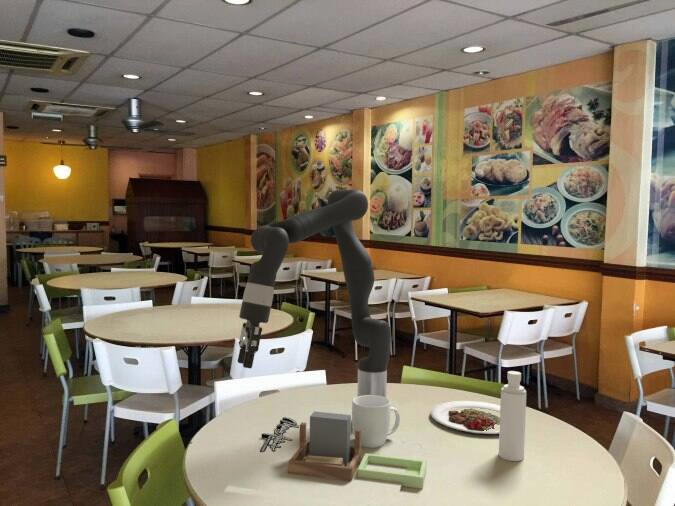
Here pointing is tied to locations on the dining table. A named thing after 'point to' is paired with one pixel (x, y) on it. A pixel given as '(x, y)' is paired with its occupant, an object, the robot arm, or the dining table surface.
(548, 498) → the dining table surface
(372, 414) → the mug
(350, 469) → the tray
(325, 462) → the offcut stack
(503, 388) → the white bottle
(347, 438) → the gray rectangular block
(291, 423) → the nameplate
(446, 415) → the plated food
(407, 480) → the holder
